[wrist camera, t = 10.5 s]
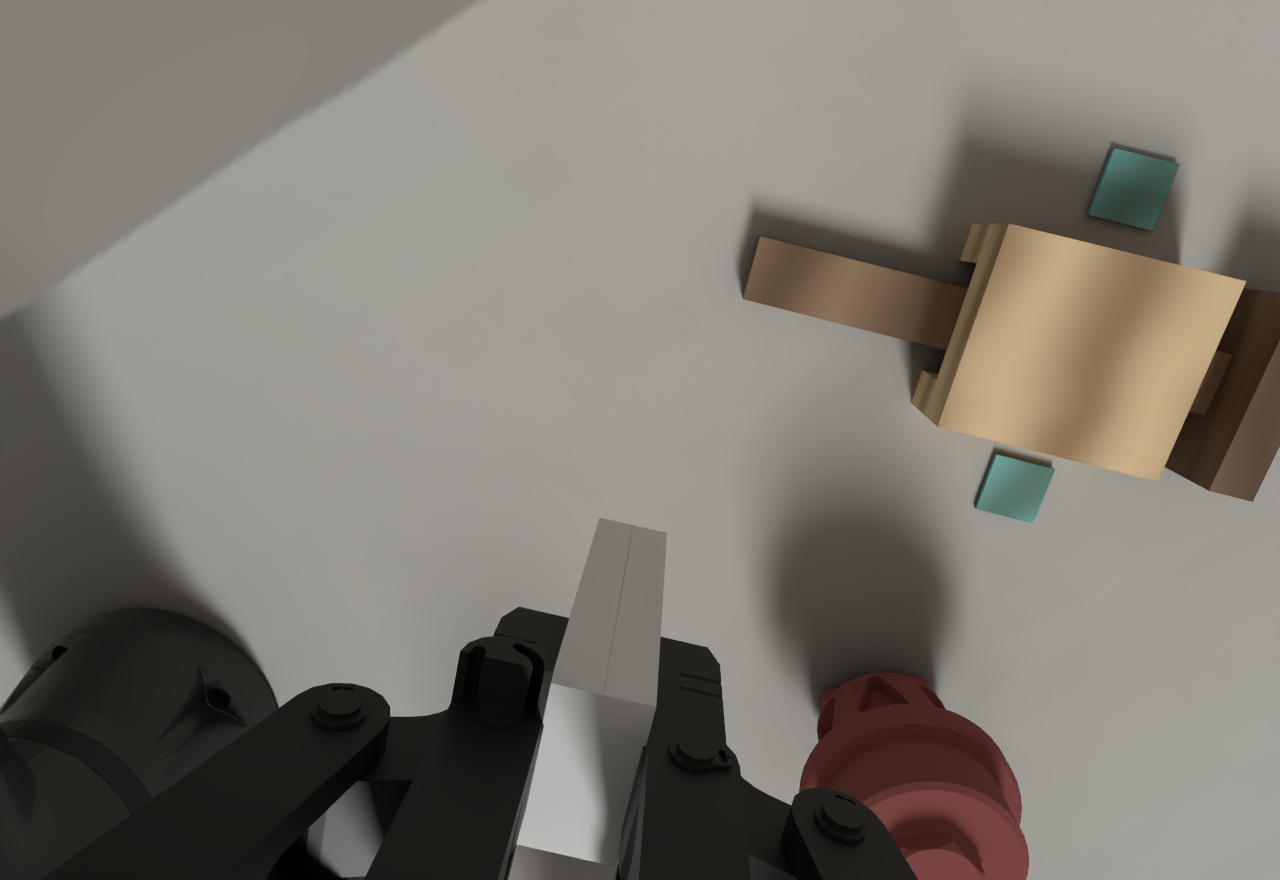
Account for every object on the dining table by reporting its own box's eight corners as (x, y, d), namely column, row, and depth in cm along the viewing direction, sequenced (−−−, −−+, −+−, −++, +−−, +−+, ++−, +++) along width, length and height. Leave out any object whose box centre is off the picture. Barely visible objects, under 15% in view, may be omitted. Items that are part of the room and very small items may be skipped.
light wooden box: (910, 402, 40) (937, 426, 36) (971, 223, 38) (1009, 223, 33) (1104, 450, 40) (1157, 481, 35) (1178, 274, 38) (1246, 281, 33)
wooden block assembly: (703, 436, 42) (702, 458, 38) (803, 72, 37) (813, 55, 33) (1163, 555, 41) (1209, 589, 37) (1327, 201, 36) (1400, 199, 32)
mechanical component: (750, 701, 45) (890, 597, 43) (863, 816, 47) (1005, 721, 44) (763, 869, 34) (958, 738, 31) (913, 1017, 35) (1111, 902, 33)
